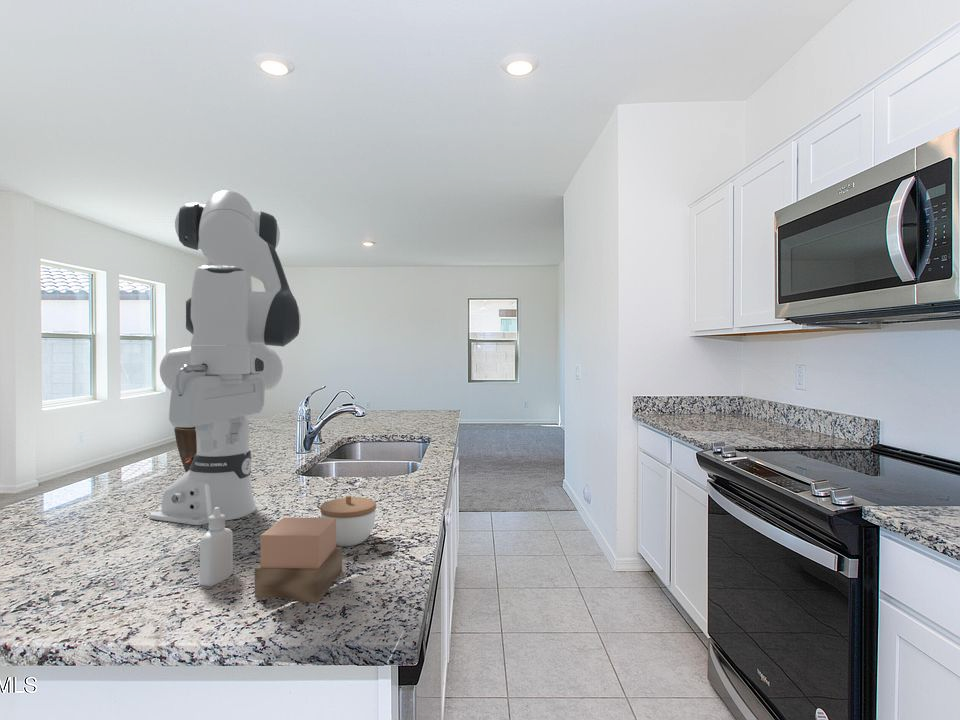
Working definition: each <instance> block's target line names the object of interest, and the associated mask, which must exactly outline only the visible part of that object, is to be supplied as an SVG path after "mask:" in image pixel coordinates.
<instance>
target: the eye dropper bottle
mask: <svg viewBox="0 0 960 720" xmlns="http://www.w3.org/2000/svg"><path fill="white" fill-rule="evenodd" d="M233 573H234V536H233V531H232V530H231V529H230V528H228V527H226V520H225V515H223V514H221V513H220V509H219V507H216V508H214V513H213V515H211V516H210V517H209V523H208V531H207V532H206V533H205V534H203V536H202V537H201V539H200V541H199V585H200V586H202V587H203V586H205V587H212V586H215V585H218V584H220V583H222V582H224V581H225V580H227V579H228V578H230V577H231V576H232V574H233Z"/></svg>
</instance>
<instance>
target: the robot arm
mask: <svg viewBox="0 0 960 720" xmlns="http://www.w3.org/2000/svg"><path fill="white" fill-rule="evenodd" d="M174 220H175V221H174V228H175V229H174V230H175V232H176V235H177V238H178V240H179V242H180V243H181V244H182V246H183V247H186V248H188V249H191V250H196V251H199V250H200V251H201V252H202V254H203V255H204V257H205V258H206V262H205V264H203V265H200V266H198V267H196V268H195V271H194V275H193V280H192V287H191V296H190V297H189V298H188V299H187V300H185V329H186V331H188V332H189V333H190V334H192V336H191V337H192V338H191V340H190V346H184V347H178V348H174V349H170V350H169V351H168V352H166V354H165V355H164V356H163V358H162V359H161V362H160V365H159V375H160V378H161V381H162V383H163V385H164V386H165V387H166V388H167V390H170V392H171V394H170V400H169V409H168V410H169V413H168V420H169V422H170V424H171V425H172V427H173V428H174V427H195V431H196V438H197V454H195V455H193V456H192V457H190V458H186V459H185V460H187V459H189V461H187V462H185V463H190V462H192V463H191V466H190V468H189V469H190V470H189V471H188V472H185V473H184V474H182V475H181V476H180V477H179V478H177V479H176V480H175V481H174V482H172V483H171V484H170V485H168V486H167V487H166V488H165V490H164V492H163V494H162V499H161V506H159V507H158V508H156V509H154V510H152V511H151V512H150V513H149V519H150V520H157V521H165V522H170V523H178V524H185V525H193V526H202V525H207V524H208V525H209V517H210V516H211V515H213V513H214V508H216V507H219V509H220V513H221V514H223V515H225V521H231V520H236V519H240V518H242V517H245V516H248V515H251V514H252V513H254V512H255V511H256V510H257V505H256V502H255V499H254V494H253V493H254V492H253V489H252V482H251V481H252V480H251V472H252V451H251V450H250V420H249V419H248V416H251V415H255V414H259V413H261V412H262V410H263V408H264V404H265V396H266V395H265V391H268V390H273V389H274V388H275V387H277V385H279V383H280V381H281V379H282V376H283V371H284V370H283V369H284V368H283V362H282V359H281V358H280V356H279V355H278V353H277V352H276V351H275V350H273V348H271V347H269V346H272V347H273V346H275V347H283V348H284V347H285V346H286V345H287V346H288V344H290V343H291V342H293V340H295V339H296V338H297V337H298V336H299V334H300V329H301V323H302V319H301V316H302V315H301V311H300V308H299V306H298V302H297V300H296V298H295V296H294V295H293V293H292V291H291V290H292V289H291V288H290V286H289V283H288V280H287V277H286V274H285V271H284V268H283V265H282V262H281V259H280V257H279V255H278V252H277V250H276V248H277V247H278V245H279V243H280V239H281V231H280V227H279V224H278V220H277V219H276V217H275V216H274V215H272V214H270V213H267V212H265V211H262V210H261V211H257V210H253V207H252V205H251V203H250V201H249V200H248V199H247V198H246V197H245V196H244V195H242V194H240V193H238V192H237V191H232V190H220V191H217V192H215V193H213V194H211V196H210V197H208V200H207V201H206V203H205V204H204V203H203V204H201V203H200V202H188V203H185V204H183V205H182V206H180V207H179V209H178V212H177V214H176V216H175V219H174ZM252 277H253V278H255V279H257V280H259V281H261V282H262V285H263V287H264V291H252V289H253V288H252V287H253V286H252V285H253V284H252Z"/></svg>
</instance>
